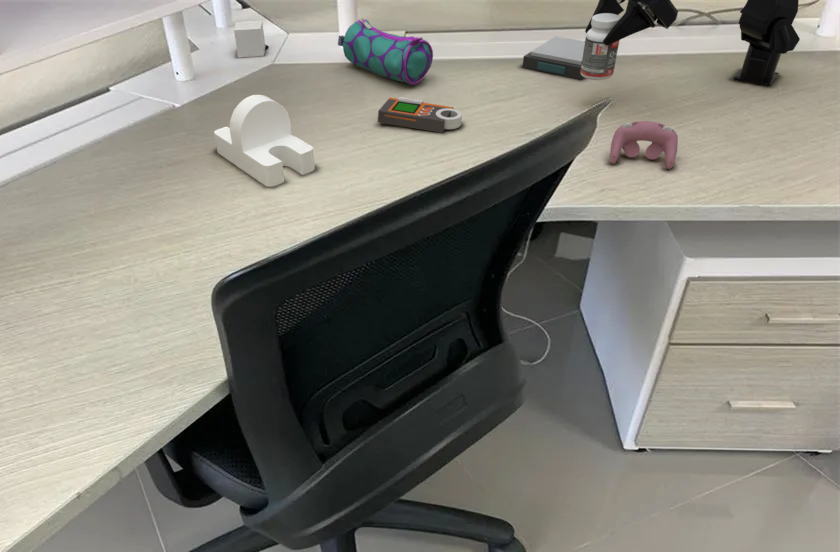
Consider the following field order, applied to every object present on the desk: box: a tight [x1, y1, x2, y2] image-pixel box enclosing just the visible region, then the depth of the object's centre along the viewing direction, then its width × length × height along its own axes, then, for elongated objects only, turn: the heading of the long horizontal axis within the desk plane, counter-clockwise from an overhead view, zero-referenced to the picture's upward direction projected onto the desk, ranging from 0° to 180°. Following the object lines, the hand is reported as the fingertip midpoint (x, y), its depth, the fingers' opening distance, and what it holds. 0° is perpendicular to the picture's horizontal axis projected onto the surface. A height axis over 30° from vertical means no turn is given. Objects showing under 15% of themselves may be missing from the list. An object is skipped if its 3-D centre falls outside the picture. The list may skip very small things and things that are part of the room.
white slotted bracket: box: [213, 94, 316, 188], centre depth 117 cm, size 10×18×11 cm, turn 36°
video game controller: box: [609, 120, 679, 170], centre depth 112 cm, size 10×5×7 cm, turn 71°
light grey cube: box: [233, 20, 266, 58], centre depth 161 cm, size 6×6×6 cm
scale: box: [521, 35, 585, 81], centre depth 146 cm, size 13×13×3 cm
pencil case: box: [337, 17, 434, 86], centre depth 145 cm, size 21×9×10 cm, turn 39°
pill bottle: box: [580, 13, 621, 81], centre depth 123 cm, size 6×6×10 cm
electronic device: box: [377, 96, 463, 133], centre depth 128 cm, size 7×3×15 cm
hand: (595, 38), depth 122 cm, fingers closed on pill bottle, 6 cm apart
